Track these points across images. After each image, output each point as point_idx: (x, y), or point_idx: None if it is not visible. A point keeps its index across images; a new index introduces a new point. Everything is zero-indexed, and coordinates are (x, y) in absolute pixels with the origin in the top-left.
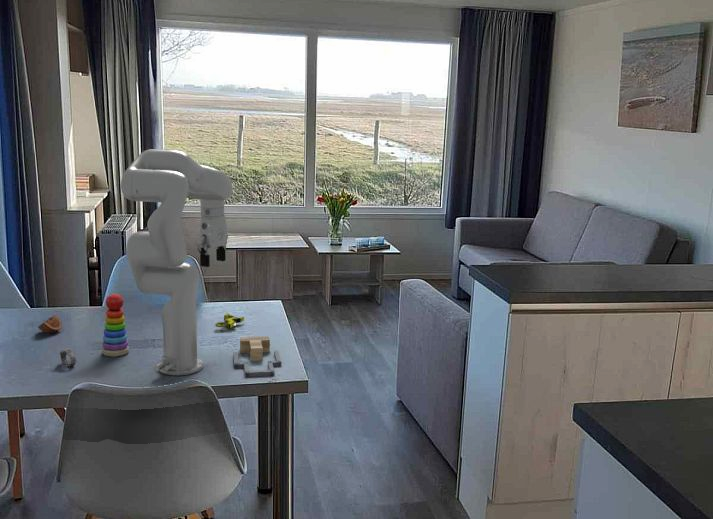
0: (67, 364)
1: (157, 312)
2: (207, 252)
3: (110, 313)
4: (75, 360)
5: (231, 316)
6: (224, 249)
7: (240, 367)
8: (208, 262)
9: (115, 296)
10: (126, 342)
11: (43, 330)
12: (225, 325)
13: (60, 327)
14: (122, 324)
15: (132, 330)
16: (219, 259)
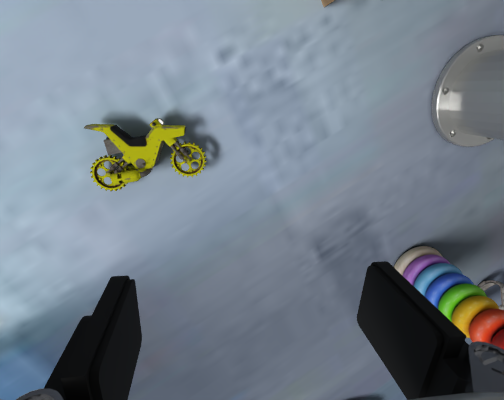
0: (485, 289)
1: (149, 363)
2: (485, 373)
3: None
4: (497, 282)
5: (96, 173)
6: (69, 386)
7: None
8: (408, 282)
9: None
10: (430, 260)
11: None
12: (189, 142)
13: None
14: (473, 290)
15: (285, 324)
16: (136, 323)
